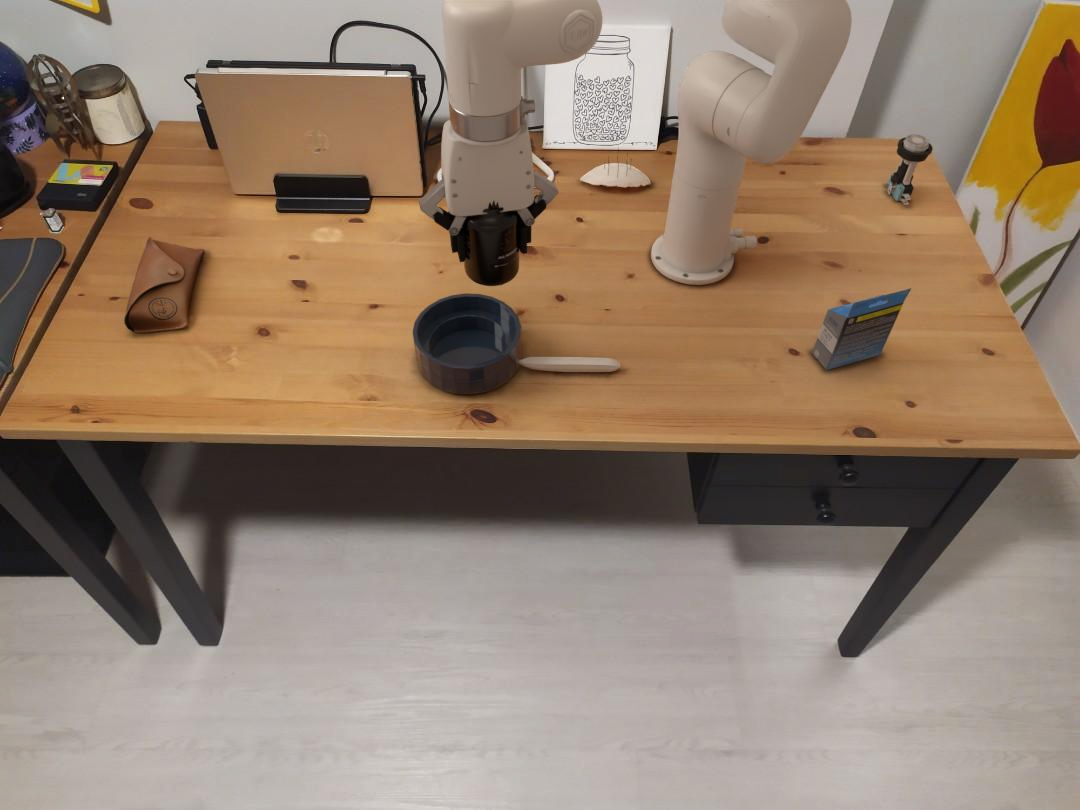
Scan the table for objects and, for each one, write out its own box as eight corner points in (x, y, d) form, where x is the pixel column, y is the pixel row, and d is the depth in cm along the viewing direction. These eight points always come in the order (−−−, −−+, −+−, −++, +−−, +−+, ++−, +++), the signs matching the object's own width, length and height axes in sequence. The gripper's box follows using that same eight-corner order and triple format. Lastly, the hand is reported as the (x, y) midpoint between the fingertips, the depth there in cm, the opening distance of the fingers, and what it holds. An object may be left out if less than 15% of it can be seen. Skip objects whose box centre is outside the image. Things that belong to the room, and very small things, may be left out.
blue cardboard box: (864, 337, 114) (894, 269, 105) (881, 356, 112) (913, 287, 102) (810, 352, 112) (835, 284, 103) (826, 372, 110) (853, 303, 100)
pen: (516, 364, 110) (516, 355, 109) (619, 365, 110) (621, 356, 109) (516, 372, 109) (516, 363, 108) (620, 373, 109) (621, 364, 108)
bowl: (510, 316, 116) (509, 287, 112) (531, 388, 107) (531, 359, 103) (411, 330, 114) (407, 301, 110) (424, 404, 105) (419, 375, 101)
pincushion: (579, 192, 136) (581, 163, 132) (580, 172, 140) (581, 143, 136) (650, 195, 136) (654, 166, 132) (649, 175, 140) (653, 145, 136)
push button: (920, 206, 135) (943, 153, 127) (889, 207, 135) (911, 154, 127) (905, 183, 139) (927, 130, 132) (875, 185, 139) (895, 131, 131)
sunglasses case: (191, 326, 113) (151, 297, 109) (155, 348, 116) (114, 321, 111) (206, 246, 125) (171, 217, 120) (173, 268, 127) (137, 240, 123)
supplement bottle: (513, 292, 98) (511, 208, 89) (458, 284, 99) (451, 201, 90) (525, 256, 102) (524, 174, 93) (472, 249, 103) (467, 167, 94)
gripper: (557, 89, 89) (553, 223, 102) (399, 105, 86) (416, 241, 100) (574, 125, 84) (568, 261, 97) (407, 143, 81) (424, 280, 95)
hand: (491, 250), depth 98 cm, fingers closed on supplement bottle, 6 cm apart
